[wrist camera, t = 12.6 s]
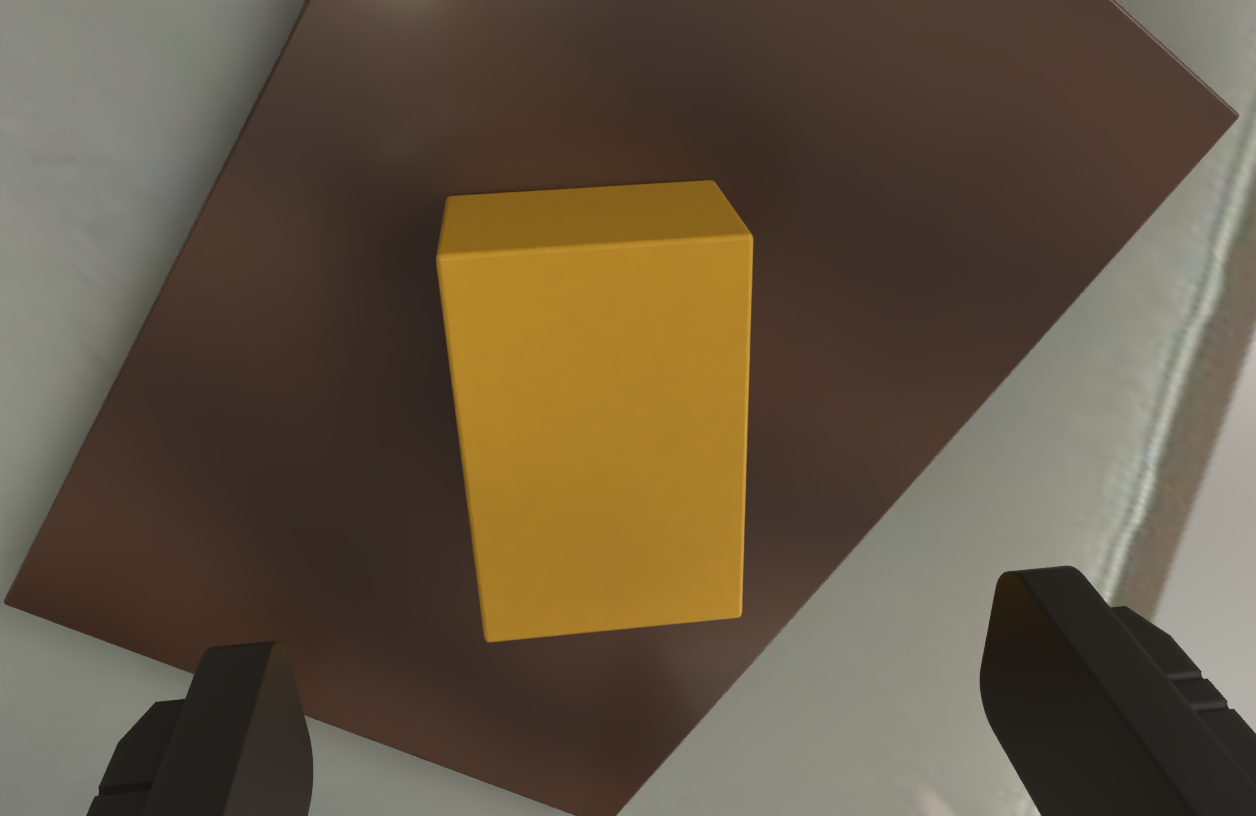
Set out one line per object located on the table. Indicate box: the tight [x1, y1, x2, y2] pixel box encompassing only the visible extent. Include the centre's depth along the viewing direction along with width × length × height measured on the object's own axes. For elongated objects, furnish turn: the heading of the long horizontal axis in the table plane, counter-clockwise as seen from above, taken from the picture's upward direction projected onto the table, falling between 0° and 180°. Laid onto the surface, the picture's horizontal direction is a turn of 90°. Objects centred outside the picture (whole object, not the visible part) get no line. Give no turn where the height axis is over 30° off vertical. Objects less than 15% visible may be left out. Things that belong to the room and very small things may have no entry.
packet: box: [436, 180, 753, 642], centre depth 17 cm, size 7×4×3 cm, turn 2°
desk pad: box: [4, 0, 1239, 816], centre depth 19 cm, size 20×14×1 cm
